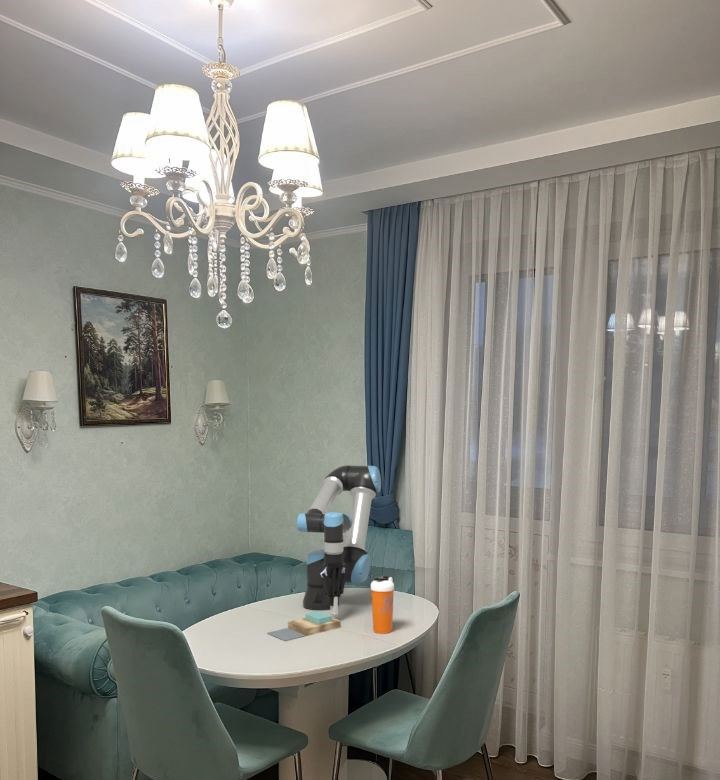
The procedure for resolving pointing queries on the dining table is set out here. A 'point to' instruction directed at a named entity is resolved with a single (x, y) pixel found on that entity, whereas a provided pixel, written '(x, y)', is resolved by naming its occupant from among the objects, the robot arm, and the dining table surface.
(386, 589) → the shaker bottle
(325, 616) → the turquoise rectangular block
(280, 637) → the mat
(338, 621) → the tan wooden board
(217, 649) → the dining table surface
